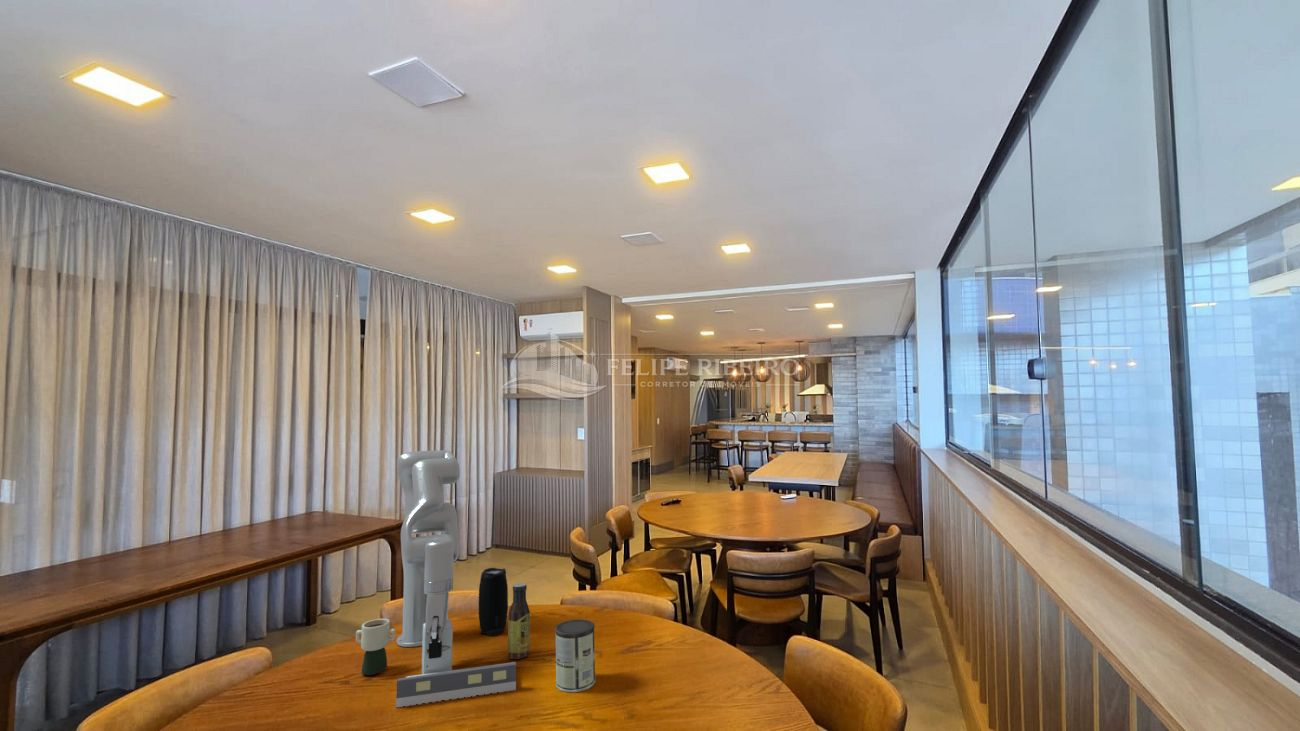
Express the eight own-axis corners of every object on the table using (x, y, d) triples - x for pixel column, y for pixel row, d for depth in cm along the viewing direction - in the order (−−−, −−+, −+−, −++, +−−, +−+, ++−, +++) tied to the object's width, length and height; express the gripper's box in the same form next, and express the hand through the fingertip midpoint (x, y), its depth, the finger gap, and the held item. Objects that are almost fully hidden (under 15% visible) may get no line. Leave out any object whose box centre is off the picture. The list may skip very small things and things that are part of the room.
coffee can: (567, 671, 142) (566, 617, 144) (601, 676, 139) (600, 620, 141) (547, 689, 133) (547, 631, 134) (584, 695, 129) (583, 635, 131)
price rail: (397, 696, 128) (397, 678, 128) (515, 679, 135) (515, 662, 135) (396, 698, 126) (396, 681, 127) (515, 681, 133) (515, 664, 134)
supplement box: (422, 681, 139) (424, 631, 141) (421, 670, 146) (422, 622, 147) (452, 675, 142) (453, 626, 144) (449, 664, 149) (450, 618, 150)
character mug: (400, 665, 149) (401, 617, 151) (388, 677, 142) (389, 626, 144) (361, 666, 149) (363, 619, 150) (347, 678, 142) (349, 628, 143)
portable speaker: (480, 628, 176) (481, 567, 178) (509, 626, 177) (509, 566, 180) (476, 638, 168) (476, 574, 170) (506, 635, 169) (506, 572, 171)
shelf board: (405, 684, 138) (405, 675, 138) (515, 669, 145) (515, 661, 145) (395, 707, 126) (396, 697, 126) (515, 689, 133) (515, 680, 133)
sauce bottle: (524, 661, 150) (524, 588, 152) (503, 660, 151) (504, 588, 153) (533, 651, 156) (533, 582, 158) (514, 650, 157) (514, 581, 160)
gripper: (429, 578, 154) (427, 641, 152) (419, 595, 137) (417, 666, 135) (456, 575, 156) (455, 637, 154) (449, 592, 139) (448, 662, 137)
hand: (437, 650), depth 145 cm, fingers closed on supplement box, 8 cm apart
